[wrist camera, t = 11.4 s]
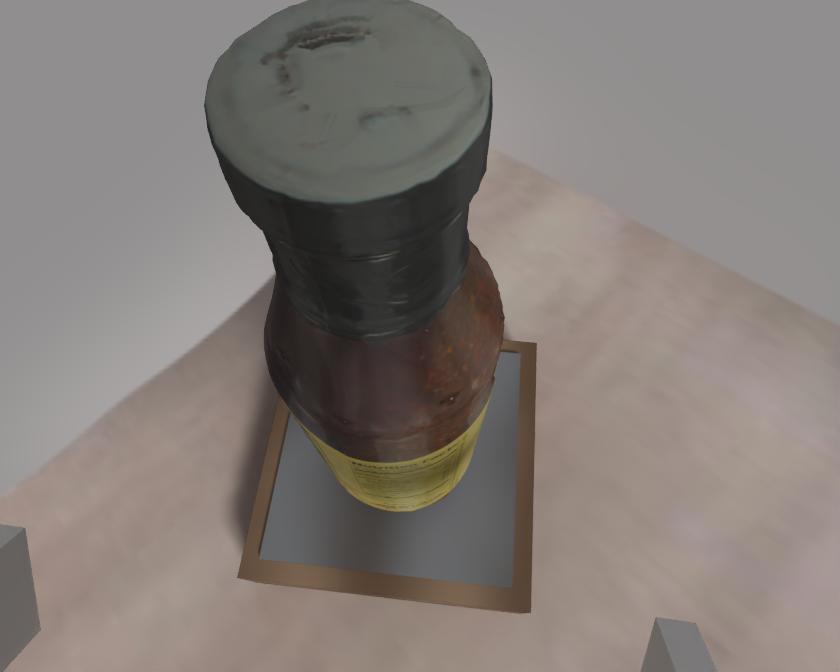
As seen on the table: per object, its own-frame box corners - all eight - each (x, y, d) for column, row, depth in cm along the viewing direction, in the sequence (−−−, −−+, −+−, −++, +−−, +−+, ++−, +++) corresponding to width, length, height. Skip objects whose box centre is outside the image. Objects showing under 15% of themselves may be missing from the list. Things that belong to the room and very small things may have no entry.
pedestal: (526, 367, 31) (537, 340, 28) (519, 613, 26) (531, 612, 23) (306, 346, 32) (294, 317, 29) (256, 582, 27) (235, 577, 24)
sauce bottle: (352, 370, 28) (226, -100, 10) (482, 397, 27) (597, -55, 9) (311, 509, 25) (26, 193, 7) (456, 542, 24) (547, 289, 6)
